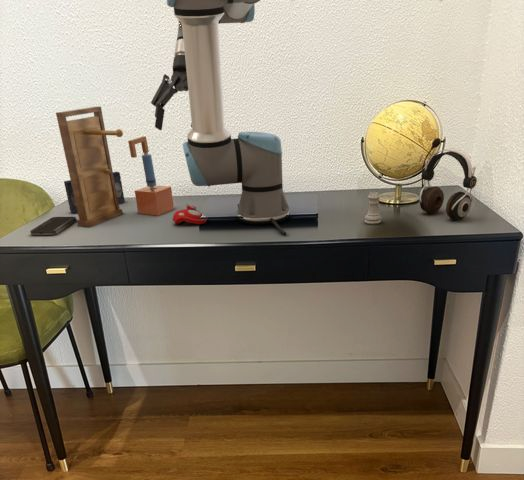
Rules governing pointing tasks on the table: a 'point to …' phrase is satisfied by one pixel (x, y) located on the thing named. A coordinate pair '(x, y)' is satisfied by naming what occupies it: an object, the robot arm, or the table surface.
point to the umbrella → (144, 160)
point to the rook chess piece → (373, 209)
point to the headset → (434, 195)
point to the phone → (53, 226)
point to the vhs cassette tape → (72, 200)
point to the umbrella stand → (154, 200)
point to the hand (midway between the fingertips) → (175, 128)
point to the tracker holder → (188, 215)
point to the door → (89, 165)
